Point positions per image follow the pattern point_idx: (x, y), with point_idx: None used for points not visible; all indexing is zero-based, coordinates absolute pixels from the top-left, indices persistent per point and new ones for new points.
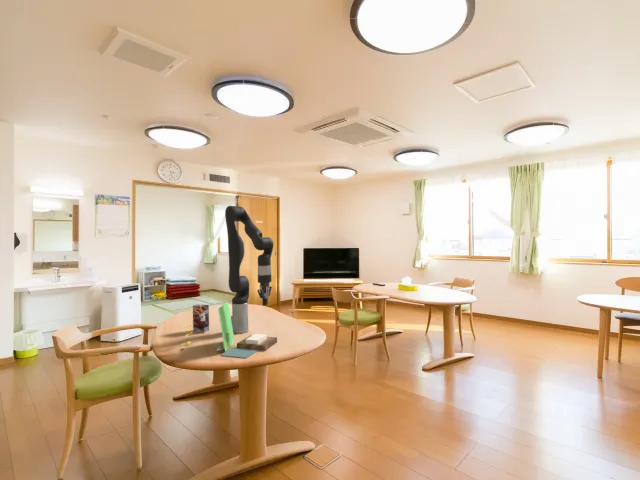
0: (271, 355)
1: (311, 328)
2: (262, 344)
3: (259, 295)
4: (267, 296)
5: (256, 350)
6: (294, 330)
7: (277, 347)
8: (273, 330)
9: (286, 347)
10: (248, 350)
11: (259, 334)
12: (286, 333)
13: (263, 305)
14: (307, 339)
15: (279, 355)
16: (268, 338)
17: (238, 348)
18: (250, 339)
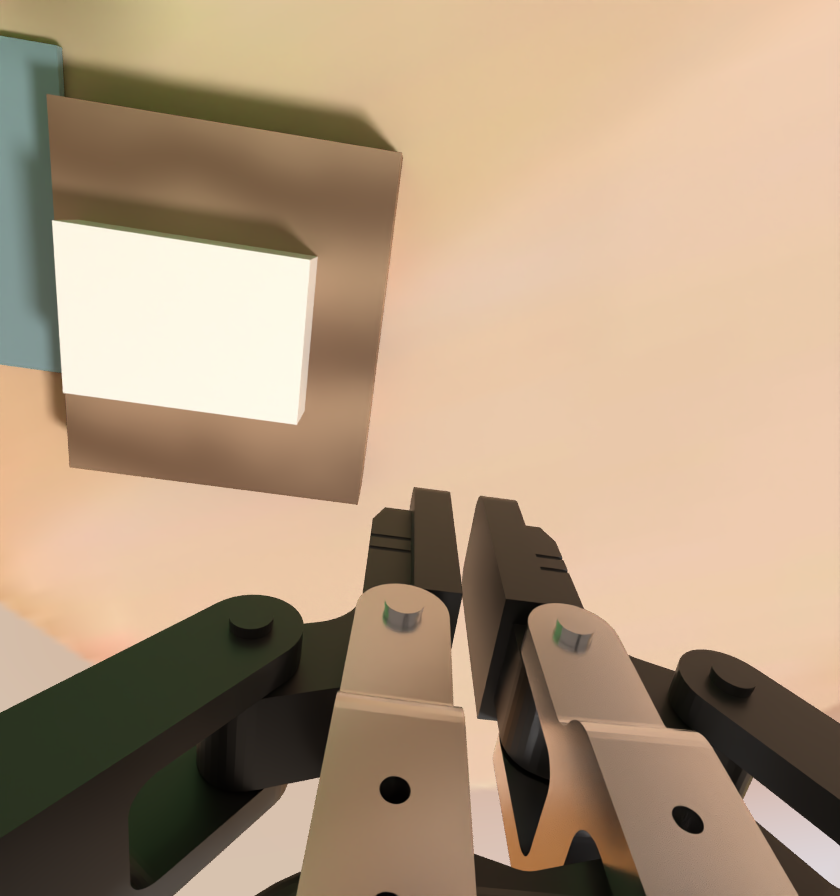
0: (7, 530)
1: (813, 683)
2: (100, 425)
3: (71, 690)
4: (507, 784)
5: (52, 370)
6: (762, 550)
7: (213, 524)
8: (792, 324)
9: (230, 595)
10: (27, 286)
11: (293, 328)
12: (656, 498)
13: (410, 505)
14: (466, 705)
15: (30, 589)
16: (307, 426)
17: (47, 139)
18: (71, 285)
